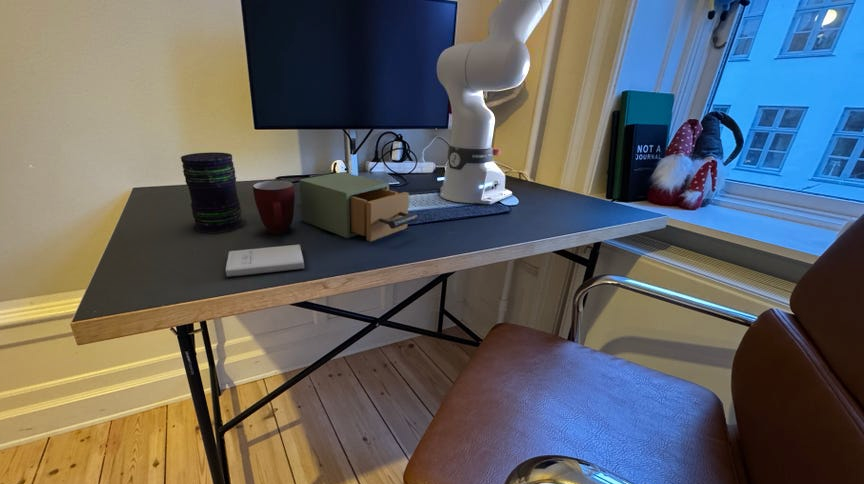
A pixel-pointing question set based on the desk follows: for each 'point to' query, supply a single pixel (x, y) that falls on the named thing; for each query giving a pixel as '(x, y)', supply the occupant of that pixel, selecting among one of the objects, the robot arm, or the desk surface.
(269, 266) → the hard drive
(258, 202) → the mug
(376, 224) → the drawer
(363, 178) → the cabinet
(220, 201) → the storage jar
